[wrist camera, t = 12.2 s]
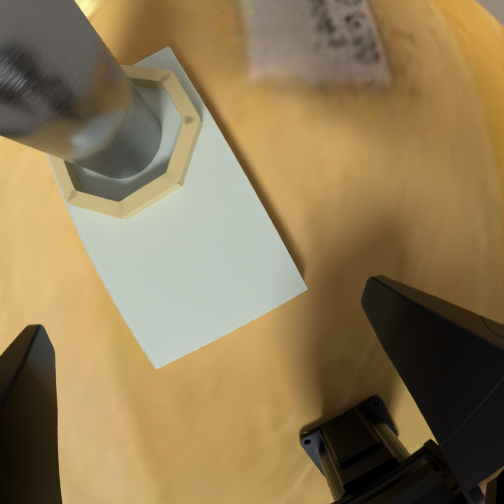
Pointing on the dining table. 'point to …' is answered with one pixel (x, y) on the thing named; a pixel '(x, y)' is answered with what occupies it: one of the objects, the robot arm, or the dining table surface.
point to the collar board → (180, 227)
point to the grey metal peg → (70, 91)
